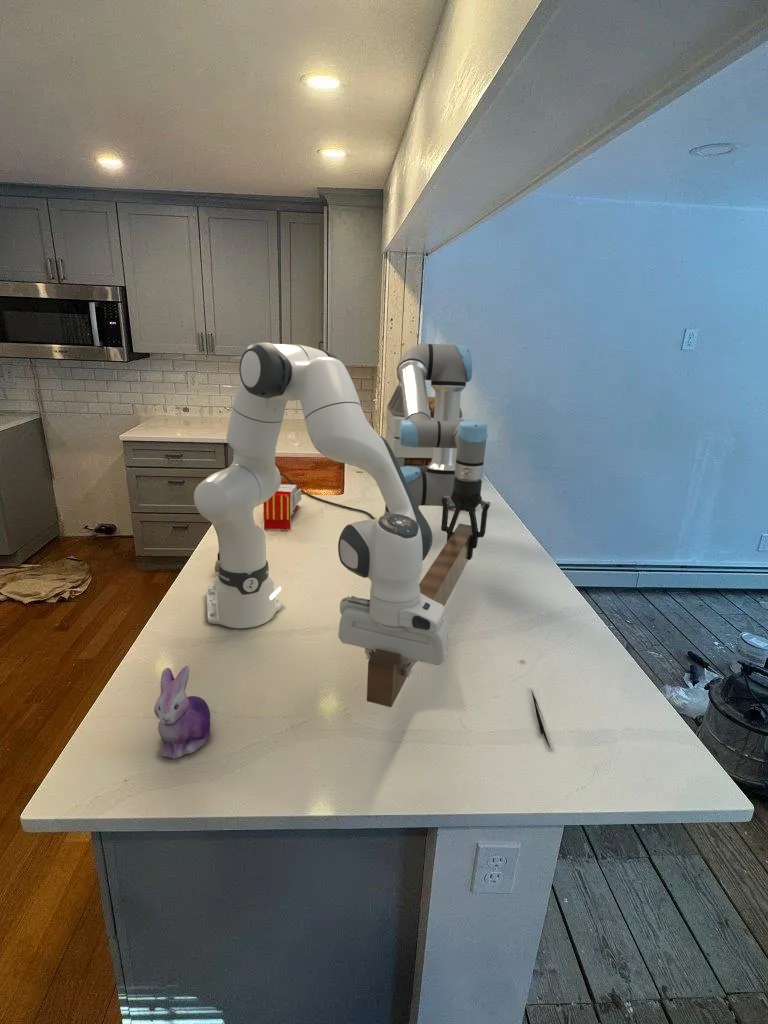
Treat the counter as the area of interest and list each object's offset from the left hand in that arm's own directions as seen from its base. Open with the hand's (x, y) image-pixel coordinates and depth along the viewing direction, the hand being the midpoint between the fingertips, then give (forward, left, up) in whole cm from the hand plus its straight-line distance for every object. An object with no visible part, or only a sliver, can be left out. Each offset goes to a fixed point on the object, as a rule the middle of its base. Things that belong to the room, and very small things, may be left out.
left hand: (390, 671), depth 105 cm
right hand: (-42, +47, -2) cm, 63 cm away
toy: (-114, +18, -12) cm, 116 cm away
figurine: (-11, -35, -12) cm, 39 cm away
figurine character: (-77, -10, -12) cm, 79 cm away
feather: (+8, +30, -12) cm, 33 cm away
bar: (-21, +23, -3) cm, 31 cm away
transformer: (-147, +99, -12) cm, 177 cm away
